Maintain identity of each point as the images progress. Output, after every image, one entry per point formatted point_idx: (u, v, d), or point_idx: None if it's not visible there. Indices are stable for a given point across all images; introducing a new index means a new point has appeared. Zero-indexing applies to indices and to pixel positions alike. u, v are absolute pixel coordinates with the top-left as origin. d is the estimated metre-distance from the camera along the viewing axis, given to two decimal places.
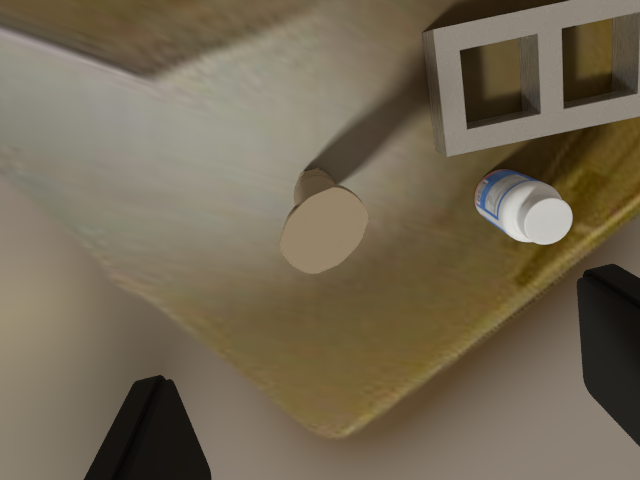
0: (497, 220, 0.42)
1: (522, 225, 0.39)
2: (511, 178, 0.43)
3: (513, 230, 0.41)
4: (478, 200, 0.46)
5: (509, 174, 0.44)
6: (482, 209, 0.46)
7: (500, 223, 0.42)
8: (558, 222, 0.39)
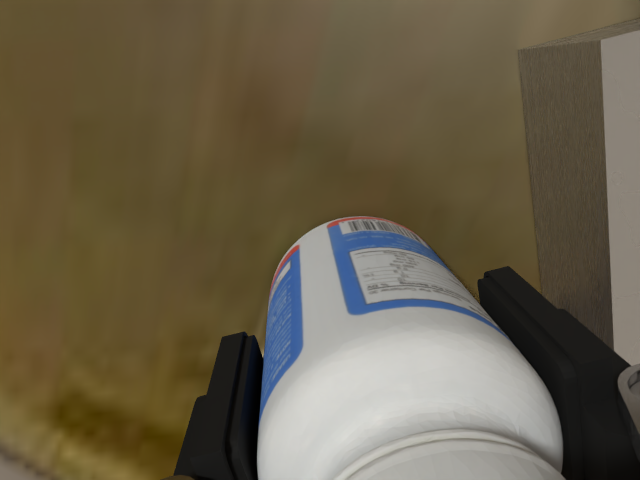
0: (344, 310, 0.08)
1: None
2: None
3: (330, 409, 0.07)
4: (353, 225, 0.13)
5: None
6: (330, 244, 0.12)
7: (342, 328, 0.08)
8: None
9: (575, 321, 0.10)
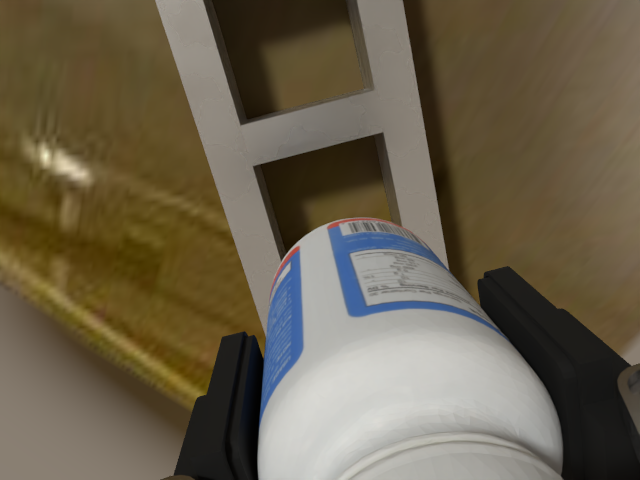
0: (345, 312, 0.09)
1: None
2: None
3: (331, 411, 0.07)
4: (354, 227, 0.13)
5: None
6: (330, 246, 0.12)
7: (342, 330, 0.08)
8: None
9: (575, 321, 0.10)
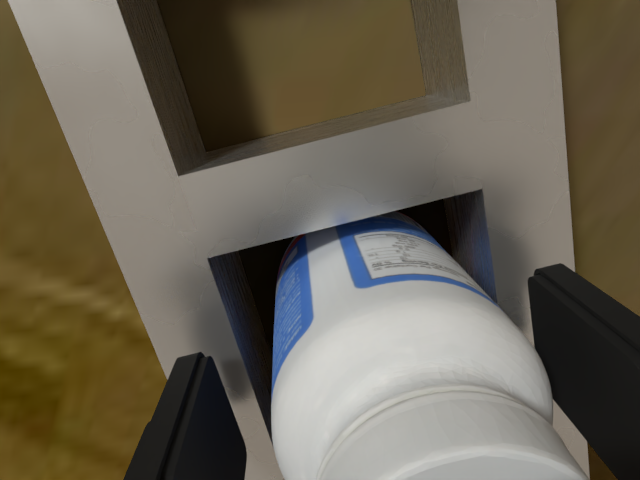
0: (351, 284, 0.09)
1: (442, 438, 0.06)
2: None
3: (340, 370, 0.08)
4: None
5: None
6: (335, 229, 0.13)
7: (349, 300, 0.09)
8: None
9: None
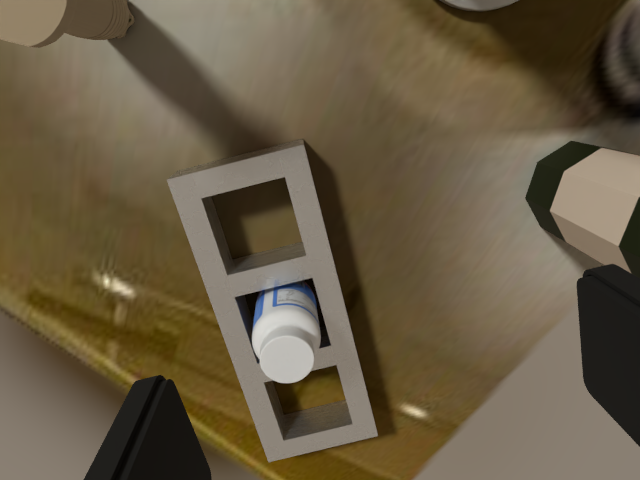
0: (271, 305, 0.37)
1: (280, 334, 0.34)
2: (315, 311, 0.39)
3: (266, 325, 0.36)
4: None
5: (316, 307, 0.41)
6: None
7: (270, 309, 0.37)
8: (286, 370, 0.34)
9: None
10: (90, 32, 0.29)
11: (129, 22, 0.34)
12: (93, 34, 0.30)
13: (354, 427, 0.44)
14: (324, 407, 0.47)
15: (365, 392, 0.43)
